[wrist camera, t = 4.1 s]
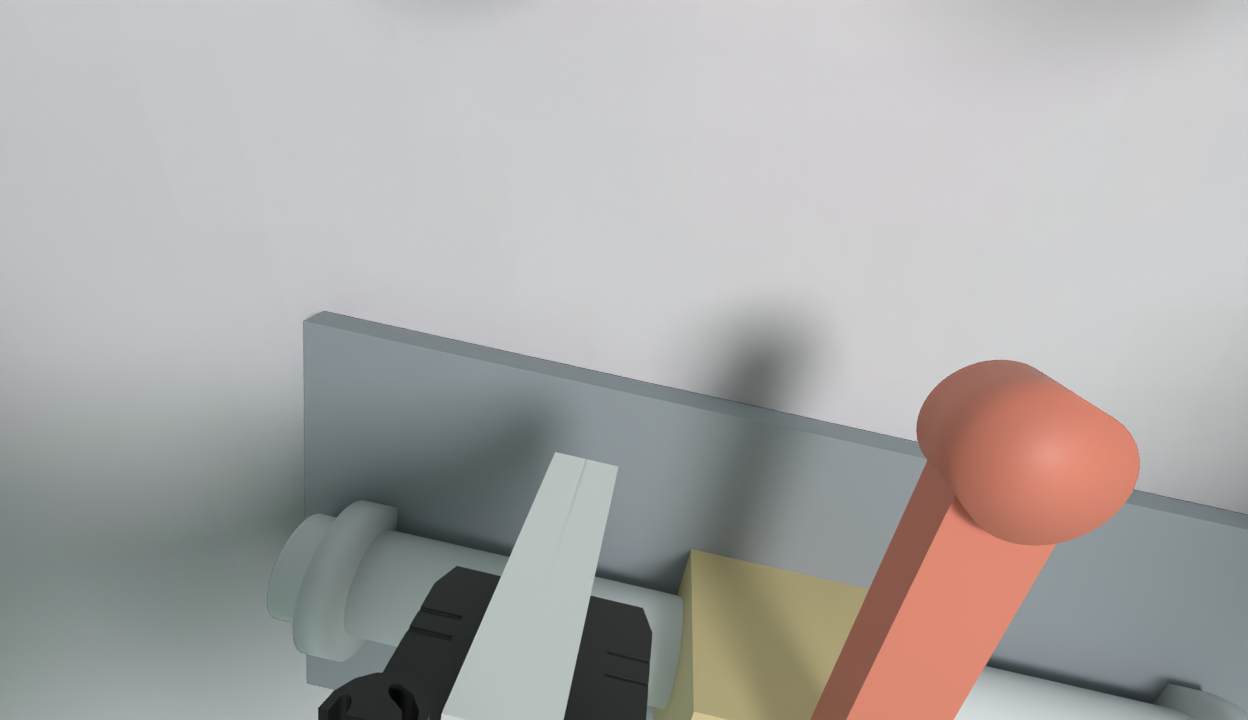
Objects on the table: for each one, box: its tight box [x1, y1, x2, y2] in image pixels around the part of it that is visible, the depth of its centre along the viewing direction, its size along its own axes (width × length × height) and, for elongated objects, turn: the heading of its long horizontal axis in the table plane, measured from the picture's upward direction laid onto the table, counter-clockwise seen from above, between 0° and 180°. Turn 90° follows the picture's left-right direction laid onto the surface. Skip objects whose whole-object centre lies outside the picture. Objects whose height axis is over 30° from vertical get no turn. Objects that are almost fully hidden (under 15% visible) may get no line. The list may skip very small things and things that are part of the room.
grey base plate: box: [267, 311, 1248, 720], centre depth 19 cm, size 36×17×8 cm, turn 79°
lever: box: [810, 360, 1140, 720], centre depth 12 cm, size 15×3×2 cm, turn 169°
